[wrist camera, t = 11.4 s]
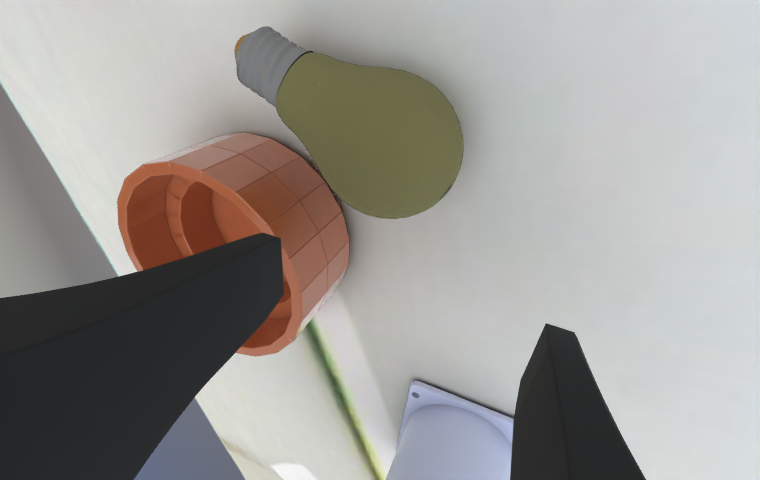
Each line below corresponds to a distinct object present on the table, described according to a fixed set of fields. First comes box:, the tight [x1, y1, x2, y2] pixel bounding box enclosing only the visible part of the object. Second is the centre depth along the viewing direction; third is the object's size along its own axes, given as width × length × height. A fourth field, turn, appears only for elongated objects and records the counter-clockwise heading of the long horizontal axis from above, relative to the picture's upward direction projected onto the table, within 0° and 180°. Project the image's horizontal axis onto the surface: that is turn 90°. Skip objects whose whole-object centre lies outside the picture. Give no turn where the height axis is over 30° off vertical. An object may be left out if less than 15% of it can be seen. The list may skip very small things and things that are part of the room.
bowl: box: [117, 132, 350, 356], centre depth 22 cm, size 11×11×6 cm
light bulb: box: [235, 27, 463, 219], centre depth 15 cm, size 6×6×10 cm
